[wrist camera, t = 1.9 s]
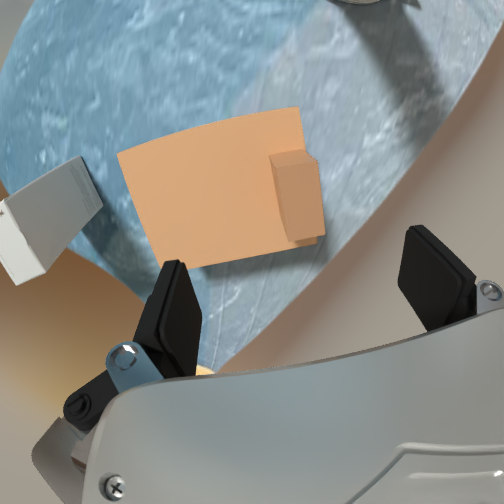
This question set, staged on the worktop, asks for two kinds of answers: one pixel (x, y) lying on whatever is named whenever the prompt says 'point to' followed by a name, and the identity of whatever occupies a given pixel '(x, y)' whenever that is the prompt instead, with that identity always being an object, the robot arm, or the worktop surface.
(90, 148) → the worktop surface
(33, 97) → the worktop surface
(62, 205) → the skincare box
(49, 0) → the worktop surface
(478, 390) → the robot arm
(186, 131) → the lid
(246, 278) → the worktop surface
